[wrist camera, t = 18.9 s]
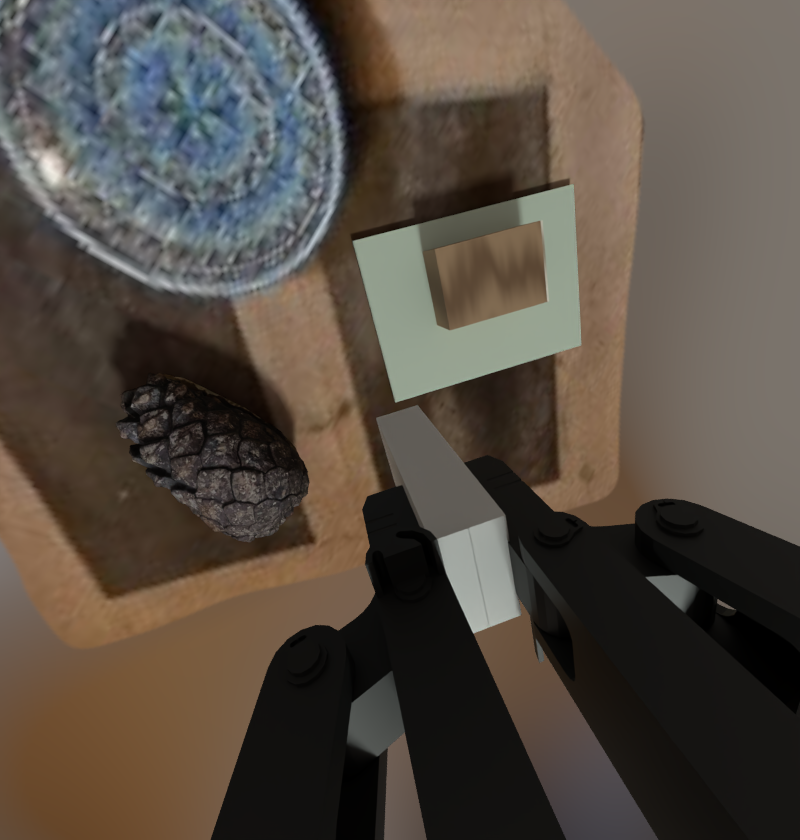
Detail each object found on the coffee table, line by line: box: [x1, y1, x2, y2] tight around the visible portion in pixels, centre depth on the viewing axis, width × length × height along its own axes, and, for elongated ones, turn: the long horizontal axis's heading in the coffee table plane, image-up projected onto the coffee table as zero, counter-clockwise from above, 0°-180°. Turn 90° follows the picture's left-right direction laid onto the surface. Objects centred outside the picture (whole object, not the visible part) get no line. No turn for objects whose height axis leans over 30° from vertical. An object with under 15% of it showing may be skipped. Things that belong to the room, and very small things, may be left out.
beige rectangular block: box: [422, 220, 549, 330], centre depth 36 cm, size 7×4×10 cm
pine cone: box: [116, 373, 309, 542], centre depth 34 cm, size 10×18×10 cm, turn 51°
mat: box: [352, 184, 581, 402], centre depth 39 cm, size 16×22×1 cm
